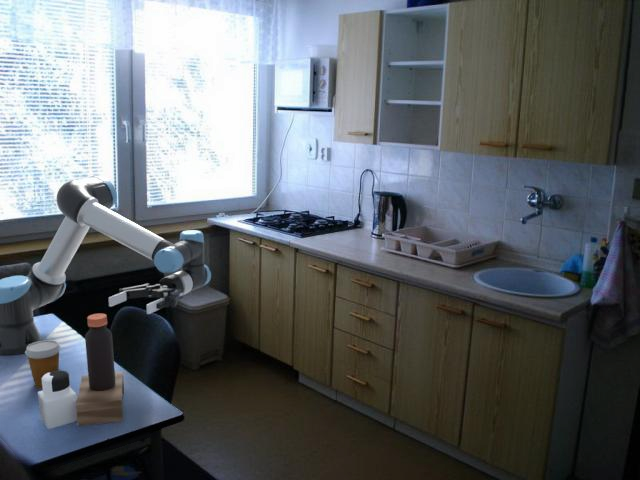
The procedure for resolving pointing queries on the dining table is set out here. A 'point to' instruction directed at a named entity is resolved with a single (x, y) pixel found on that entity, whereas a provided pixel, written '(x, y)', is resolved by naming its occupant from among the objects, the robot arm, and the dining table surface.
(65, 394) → the container
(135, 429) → the dining table surface
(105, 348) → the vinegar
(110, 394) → the wooden block
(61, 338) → the dining table surface
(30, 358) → the disposable coffee cup
